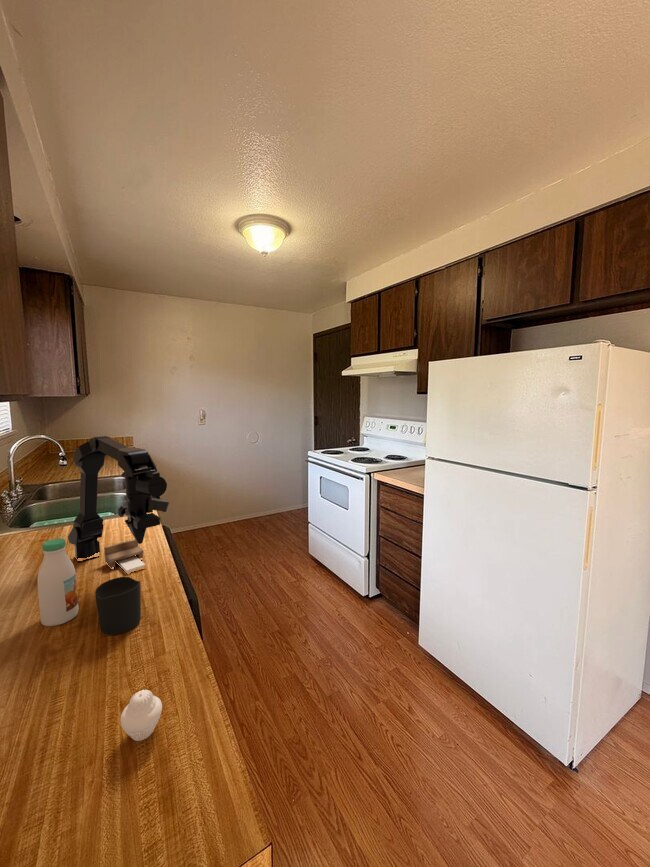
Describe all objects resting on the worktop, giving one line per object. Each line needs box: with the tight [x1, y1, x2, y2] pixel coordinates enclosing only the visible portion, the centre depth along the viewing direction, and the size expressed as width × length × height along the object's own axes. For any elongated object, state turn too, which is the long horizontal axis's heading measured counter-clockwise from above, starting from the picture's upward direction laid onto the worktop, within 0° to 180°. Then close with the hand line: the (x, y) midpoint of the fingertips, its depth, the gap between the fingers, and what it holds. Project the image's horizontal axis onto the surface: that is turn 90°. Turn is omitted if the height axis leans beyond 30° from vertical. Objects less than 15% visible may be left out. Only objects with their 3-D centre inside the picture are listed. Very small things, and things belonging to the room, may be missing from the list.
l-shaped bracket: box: [103, 538, 144, 568], centre depth 121 cm, size 10×6×6 cm, turn 135°
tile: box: [116, 555, 147, 574], centre depth 118 cm, size 6×12×2 cm, turn 46°
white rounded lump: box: [120, 689, 163, 742], centre depth 59 cm, size 6×6×7 cm
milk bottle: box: [37, 538, 79, 627], centre depth 90 cm, size 8×8×20 cm
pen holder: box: [94, 576, 142, 636], centre depth 87 cm, size 9×9×10 cm
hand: (140, 543), depth 108 cm, fingers closed
